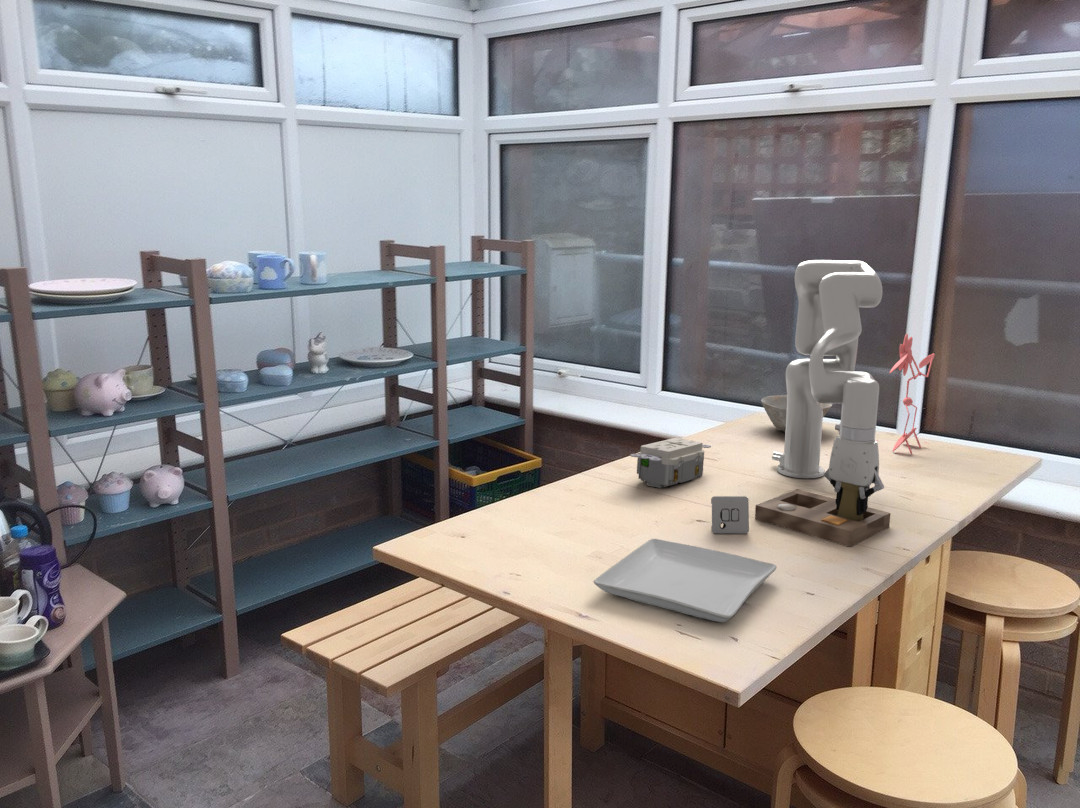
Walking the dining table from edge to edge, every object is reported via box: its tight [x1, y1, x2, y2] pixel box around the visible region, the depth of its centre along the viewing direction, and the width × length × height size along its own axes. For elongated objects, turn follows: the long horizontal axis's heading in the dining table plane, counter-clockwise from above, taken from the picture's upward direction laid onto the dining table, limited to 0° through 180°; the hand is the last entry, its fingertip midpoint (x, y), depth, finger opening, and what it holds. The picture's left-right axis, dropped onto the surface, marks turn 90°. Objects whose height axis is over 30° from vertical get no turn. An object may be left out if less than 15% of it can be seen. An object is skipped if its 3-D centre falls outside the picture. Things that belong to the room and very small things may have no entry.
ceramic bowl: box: [761, 394, 833, 433], centre depth 294 cm, size 22×23×10 cm
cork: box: [837, 482, 864, 522], centre depth 206 cm, size 6×6×11 cm
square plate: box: [592, 538, 778, 623], centre depth 174 cm, size 27×27×4 cm
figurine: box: [875, 333, 936, 455], centre depth 273 cm, size 15×26×35 cm, turn 142°
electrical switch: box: [710, 495, 750, 535], centre depth 204 cm, size 8×5×8 cm, turn 90°
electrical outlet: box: [629, 437, 712, 489], centre depth 242 cm, size 12×28×10 cm, turn 140°
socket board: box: [754, 488, 891, 548], centre depth 209 cm, size 24×18×4 cm
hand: (850, 510), depth 206 cm, fingers closed on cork, 4 cm apart
